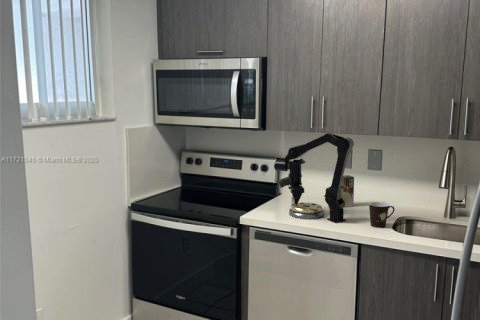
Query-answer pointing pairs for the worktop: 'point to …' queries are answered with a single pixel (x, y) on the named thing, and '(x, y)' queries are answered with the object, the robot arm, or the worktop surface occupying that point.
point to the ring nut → (305, 207)
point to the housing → (306, 215)
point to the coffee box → (347, 190)
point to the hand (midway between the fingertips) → (295, 202)
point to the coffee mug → (379, 214)
